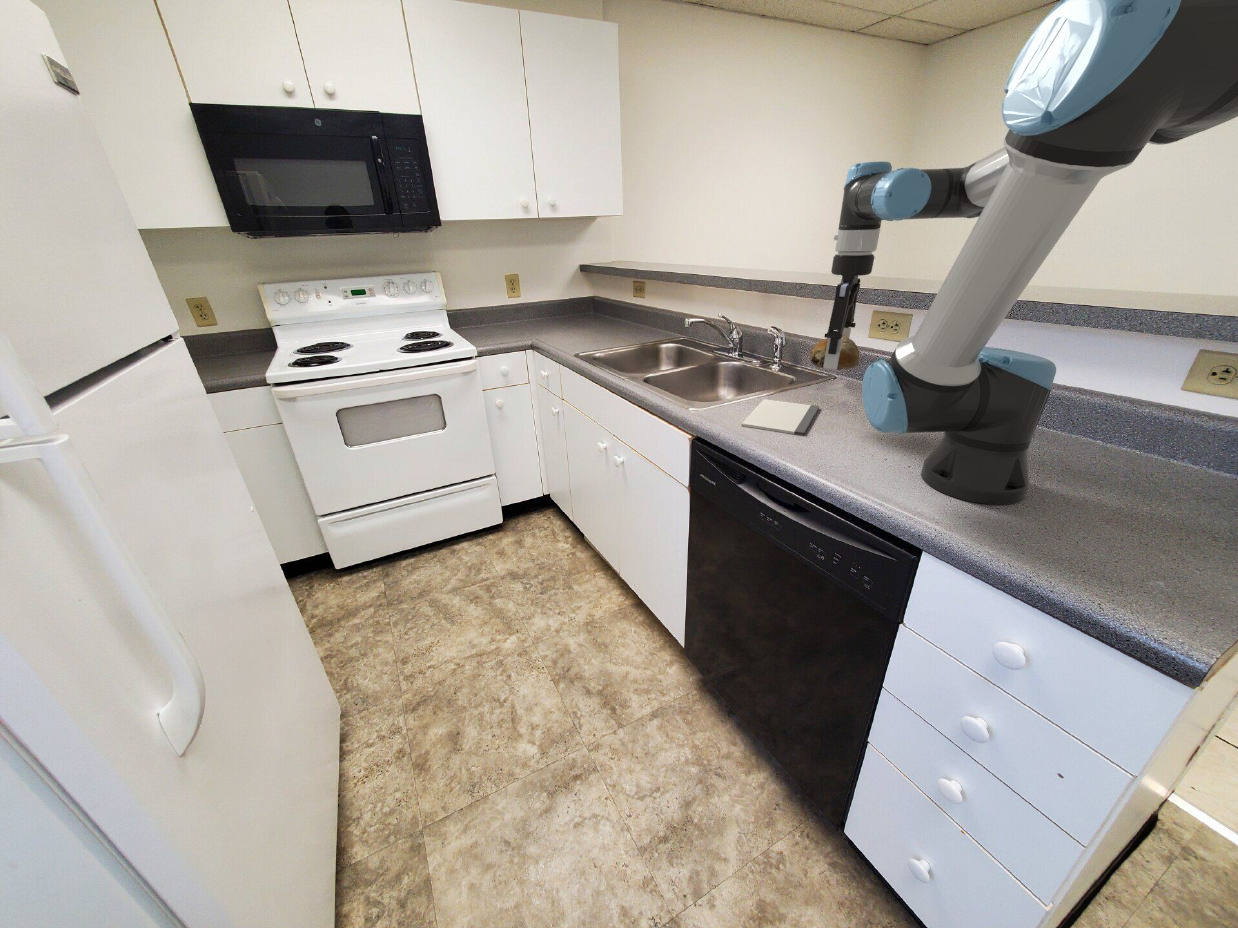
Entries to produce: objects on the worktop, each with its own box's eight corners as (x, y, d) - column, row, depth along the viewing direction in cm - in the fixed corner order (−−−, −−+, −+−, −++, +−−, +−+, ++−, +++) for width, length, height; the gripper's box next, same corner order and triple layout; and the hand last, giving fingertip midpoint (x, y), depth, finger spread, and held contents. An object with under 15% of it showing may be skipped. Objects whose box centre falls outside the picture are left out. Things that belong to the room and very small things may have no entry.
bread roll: (853, 386, 103) (877, 353, 99) (812, 367, 101) (835, 332, 98) (837, 373, 111) (858, 342, 108) (799, 355, 110) (819, 323, 106)
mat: (803, 435, 105) (803, 432, 105) (741, 425, 112) (741, 423, 111) (818, 408, 121) (819, 405, 120) (763, 401, 127) (763, 398, 127)
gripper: (844, 249, 106) (827, 349, 116) (823, 257, 89) (805, 373, 99) (881, 249, 102) (860, 352, 112) (867, 257, 85) (844, 378, 95)
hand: (834, 362), depth 105 cm, fingers closed on bread roll, 10 cm apart
